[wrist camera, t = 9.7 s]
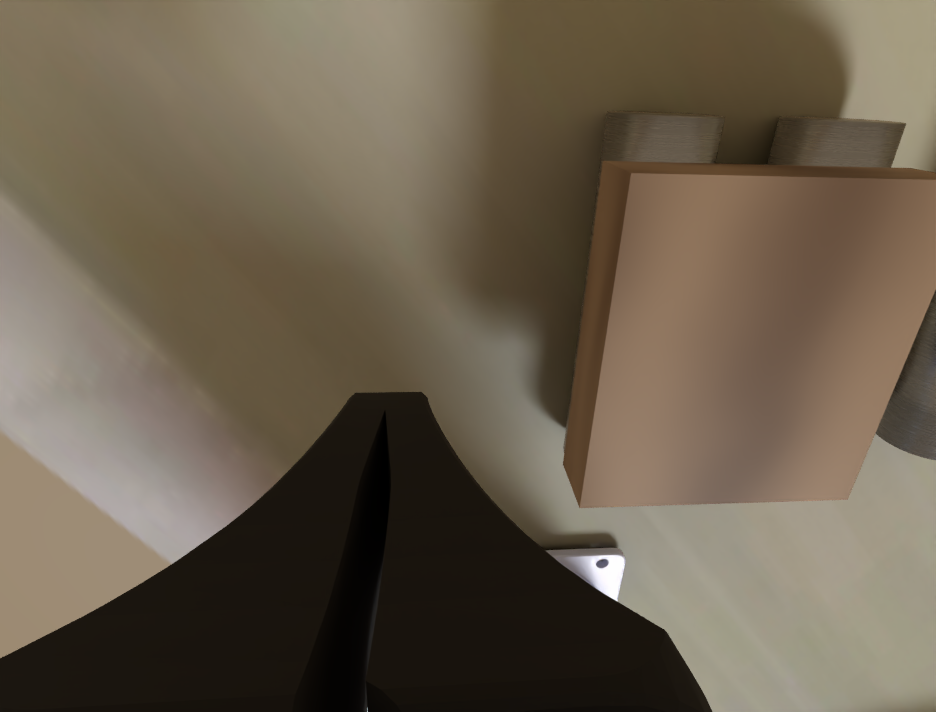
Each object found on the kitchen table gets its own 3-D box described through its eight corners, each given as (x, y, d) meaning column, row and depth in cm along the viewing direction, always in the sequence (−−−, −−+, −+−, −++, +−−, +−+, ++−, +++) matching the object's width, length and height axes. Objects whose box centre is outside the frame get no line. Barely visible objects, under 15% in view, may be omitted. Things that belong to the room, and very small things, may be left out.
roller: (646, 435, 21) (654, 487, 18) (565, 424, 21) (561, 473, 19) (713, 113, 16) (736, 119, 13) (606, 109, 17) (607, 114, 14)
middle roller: (733, 420, 22) (805, 461, 20) (679, 439, 21) (750, 487, 18) (819, 116, 17) (929, 123, 15) (756, 116, 16) (866, 124, 14)
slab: (562, 464, 17) (579, 507, 16) (602, 160, 14) (630, 173, 12) (805, 458, 18) (847, 499, 16) (910, 168, 14) (980, 181, 12)
